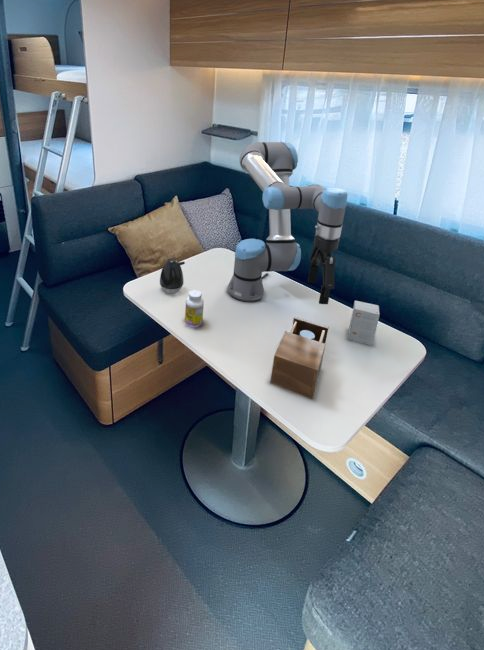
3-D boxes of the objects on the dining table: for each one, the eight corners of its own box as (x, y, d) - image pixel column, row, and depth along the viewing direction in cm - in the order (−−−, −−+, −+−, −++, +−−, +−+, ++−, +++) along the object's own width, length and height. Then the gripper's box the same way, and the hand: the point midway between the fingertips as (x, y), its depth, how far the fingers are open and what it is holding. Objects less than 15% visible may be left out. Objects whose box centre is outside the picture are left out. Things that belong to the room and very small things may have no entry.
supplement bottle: (181, 320, 155) (182, 290, 151) (196, 315, 158) (198, 286, 154) (190, 330, 150) (192, 300, 145) (205, 325, 153) (207, 295, 148)
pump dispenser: (181, 298, 170) (182, 265, 164) (157, 295, 171) (157, 262, 166) (185, 285, 179) (186, 254, 174) (162, 282, 181) (163, 252, 175)
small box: (372, 335, 149) (379, 305, 145) (372, 346, 144) (380, 314, 139) (348, 329, 152) (354, 299, 148) (347, 339, 147) (354, 308, 142)
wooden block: (281, 357, 137) (285, 331, 134) (320, 370, 132) (325, 343, 128) (270, 383, 126) (274, 355, 122) (312, 399, 120) (317, 370, 117)
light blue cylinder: (299, 342, 141) (301, 328, 139) (313, 347, 139) (316, 332, 137) (295, 350, 138) (298, 336, 135) (310, 355, 135) (313, 340, 133)
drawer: (293, 330, 149) (297, 310, 146) (326, 341, 144) (330, 320, 141) (282, 357, 136) (285, 336, 133) (318, 370, 131) (322, 347, 127)
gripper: (305, 220, 144) (297, 273, 152) (327, 252, 121) (316, 312, 128) (327, 221, 144) (317, 274, 151) (353, 253, 120) (340, 314, 128)
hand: (317, 292), depth 140 cm, fingers open, 13 cm apart
